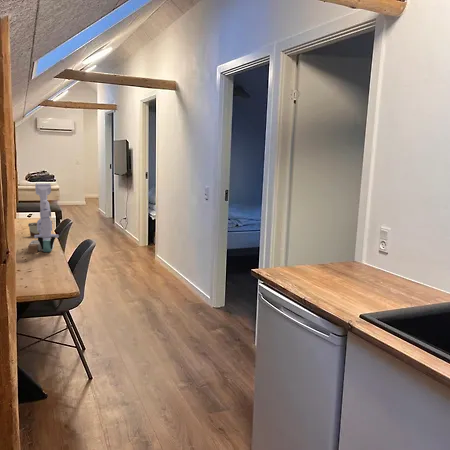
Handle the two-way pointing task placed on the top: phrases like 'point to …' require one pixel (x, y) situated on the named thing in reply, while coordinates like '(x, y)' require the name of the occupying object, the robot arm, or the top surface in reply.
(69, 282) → the top surface
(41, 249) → the tote
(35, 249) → the walnut cube
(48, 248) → the teal cylinder
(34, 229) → the food container
